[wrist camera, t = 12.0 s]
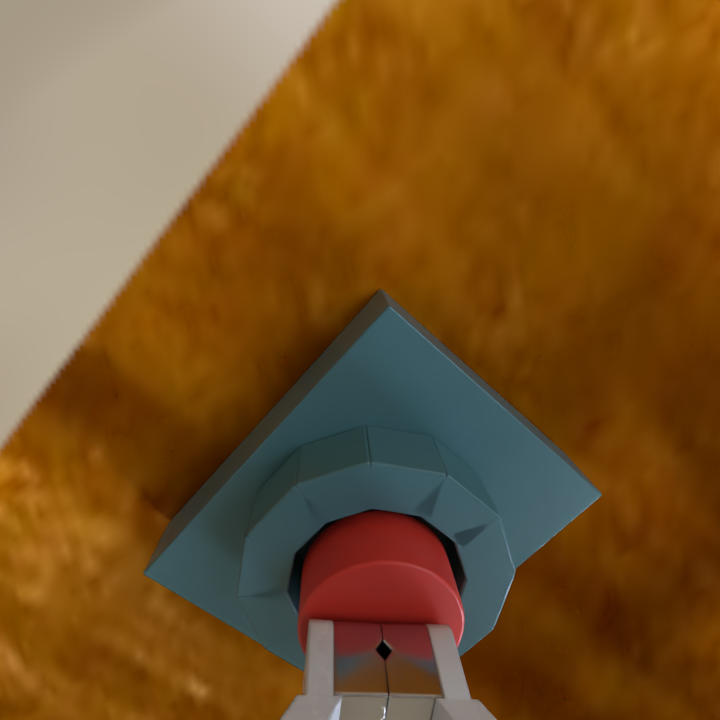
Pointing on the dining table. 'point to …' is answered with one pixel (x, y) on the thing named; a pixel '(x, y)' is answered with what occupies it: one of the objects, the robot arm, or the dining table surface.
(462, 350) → the dining table surface
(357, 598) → the red button
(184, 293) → the dining table surface
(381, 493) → the button block
